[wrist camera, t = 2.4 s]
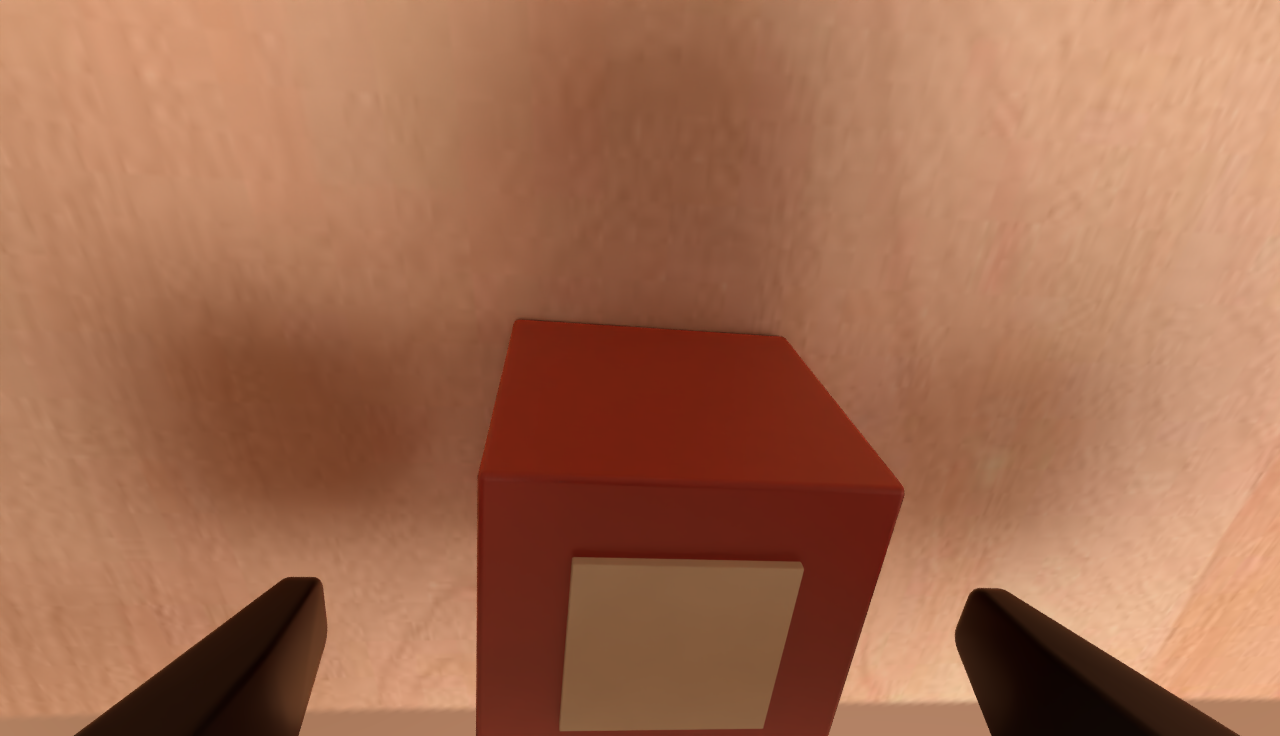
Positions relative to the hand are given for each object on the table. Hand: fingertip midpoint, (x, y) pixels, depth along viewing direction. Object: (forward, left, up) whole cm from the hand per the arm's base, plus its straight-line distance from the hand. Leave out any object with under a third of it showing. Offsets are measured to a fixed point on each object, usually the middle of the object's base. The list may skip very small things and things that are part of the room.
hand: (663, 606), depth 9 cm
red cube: (0, 0, -4) cm, 4 cm away
